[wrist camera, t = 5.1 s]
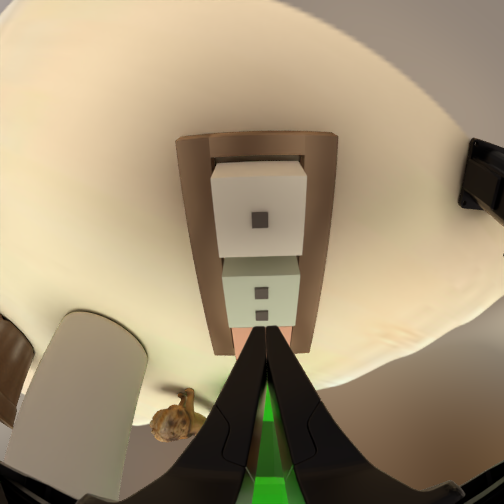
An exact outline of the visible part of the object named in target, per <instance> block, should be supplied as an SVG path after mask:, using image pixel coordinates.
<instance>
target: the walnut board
mask: <svg viewBox="0 0 504 504" xmlns="http://www.w3.org/2000/svg"><path fill="white" fill-rule="evenodd" d="M175 142H176V150H177V158H178V166H179V173H180V180H181V187H182V194H183V201H184V207H185V213H186V219H187V225H188V231H189V237H190V243H191V248H192V253H193V259H194V264H195V269H196V274H197V279H198V284H199V289H200V294H201V298H202V303H203V308H204V312H205V317H206V321H207V325H208V330H209V334H210V338H211V342H212V346H213V350H214V354H215V355H235V348H234V341H233V334H232V328H229V324H228V317H227V311H226V304H225V296H224V289H223V282H222V272H223V265H224V258H219V251H218V243H217V234H216V226H215V217H214V208H213V198H212V189H211V179H210V178H211V176H212V174H213V172H214V169H215V162H214V157H228V156H250V155H301V162H300V165H301V166H302V168H303V170H304V172H305V173H306V175H307V188H306V207H305V223H304V237H303V250H302V255H296V257H297V261H298V266H299V270H300V284H299V295H298V304H297V313H296V322H295V326H292V332H291V341H290V348H291V349H292V351H293V353H294V354H297V353H309V352H310V347H311V343H312V338H313V333H314V328H315V323H316V317H317V312H318V307H319V301H320V295H321V289H322V283H323V277H324V271H325V264H326V257H327V250H328V243H329V235H330V227H331V218H332V209H333V199H334V189H335V177H336V165H337V149H338V136H337V135H335V134H333V133H332V132H312V131H249V132H229V133H214V134H202V135H192V136H183V137H180V138H179V139H177V140H176V141H175Z"/></svg>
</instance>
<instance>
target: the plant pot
mask: <svg viewBox="0 0 504 504" xmlns="http://www.w3.org/2000/svg"><path fill="white" fill-rule="evenodd" d="M33 357H34V353H33V348H32V346H31V345H30V343H29V342H28V340H27V339H26V337H25V336H24V335H23V334H22V333H21V332H20V331H19V330H18V329H17V328H16V327H15V326H14V325H13V324H12V323H11V322H10V321H6V320H4V319H3V318H2V315H1V314H0V422H2V423H3V424H5V425H6V426H8V427H10V428H11V429H13V427H14V426H13V425H14V420H15V416H16V412H17V409H16V406H17V403H18V400H19V396H20V393H21V390H22V387H23V384H24V381H25V378H26V376H27V373H28V370H29V368H30V365H31V362H32V360H33Z"/></svg>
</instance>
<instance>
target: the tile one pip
mask: <svg viewBox="0 0 504 504" xmlns="http://www.w3.org/2000/svg"><path fill="white" fill-rule="evenodd" d="M210 179H211V189H212V198H213V208H214V217H215V226H216V234H217V243H218V251H219V258H225V257H262V256H296V255H302V250H303V237H304V223H305V207H306V188H307V175H306V173H305V172H304V170H303V168H302V166H301V165H300V163H299V161H255V162H231V163H217V165H216V167H215V169H214V172H213V174H212V176H211V178H210Z"/></svg>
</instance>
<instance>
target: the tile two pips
mask: <svg viewBox="0 0 504 504" xmlns="http://www.w3.org/2000/svg"><path fill="white" fill-rule="evenodd" d="M222 282H223V289H224V296H225V304H226V311H227V317H228V324H229V328H247V327H254V326H265V327H266V326H272V325H277V326H278V327H281V326H295V322H296V313H297V304H298V295H299V284H300V270H299V266H298V261H297V257H296V256H262V257H225V258H224V265H223V272H222Z"/></svg>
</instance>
